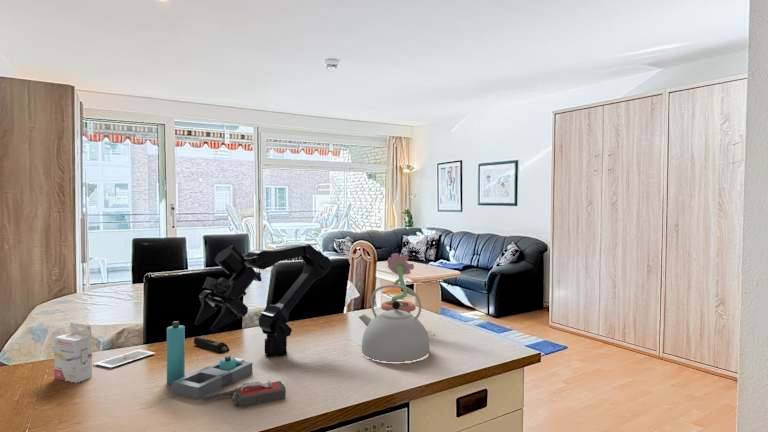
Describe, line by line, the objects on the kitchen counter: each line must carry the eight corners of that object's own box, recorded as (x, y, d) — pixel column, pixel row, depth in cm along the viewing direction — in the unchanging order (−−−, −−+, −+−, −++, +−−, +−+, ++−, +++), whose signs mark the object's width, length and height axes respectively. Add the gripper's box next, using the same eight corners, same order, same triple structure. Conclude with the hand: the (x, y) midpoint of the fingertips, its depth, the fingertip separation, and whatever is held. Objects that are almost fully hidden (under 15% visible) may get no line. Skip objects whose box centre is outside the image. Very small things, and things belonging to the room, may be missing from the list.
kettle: (343, 357, 145) (343, 287, 145) (371, 338, 166) (372, 277, 166) (417, 368, 136) (418, 293, 135) (437, 347, 157) (438, 282, 156)
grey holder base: (228, 368, 134) (228, 349, 134) (252, 372, 130) (252, 354, 130) (171, 393, 116) (171, 371, 116) (198, 399, 112) (198, 377, 112)
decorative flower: (422, 325, 185) (423, 252, 184) (410, 334, 172) (411, 255, 172) (389, 321, 191) (390, 250, 190) (375, 329, 178) (376, 253, 178)
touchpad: (93, 367, 135) (93, 359, 135) (138, 352, 149) (138, 346, 149) (110, 371, 132) (110, 363, 132) (155, 356, 145) (155, 349, 145)
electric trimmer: (200, 344, 159) (200, 335, 158) (230, 351, 150) (230, 342, 150) (191, 347, 155) (190, 337, 155) (220, 354, 147) (220, 345, 147)
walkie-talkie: (281, 387, 121) (201, 402, 112) (281, 371, 121) (201, 384, 112) (291, 399, 114) (206, 416, 104) (291, 382, 114) (206, 397, 104)
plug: (185, 378, 126) (185, 319, 125) (183, 384, 121) (183, 323, 121) (168, 380, 124) (168, 320, 124) (165, 386, 120) (165, 324, 120)
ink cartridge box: (53, 379, 124) (52, 326, 124) (70, 373, 129) (70, 321, 128) (75, 383, 121) (75, 329, 121) (93, 377, 126) (92, 324, 126)
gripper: (205, 263, 138) (168, 305, 130) (238, 269, 126) (200, 316, 118) (228, 286, 145) (195, 327, 136) (262, 294, 132) (227, 339, 124)
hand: (203, 327), depth 129 cm, fingers open, 9 cm apart
